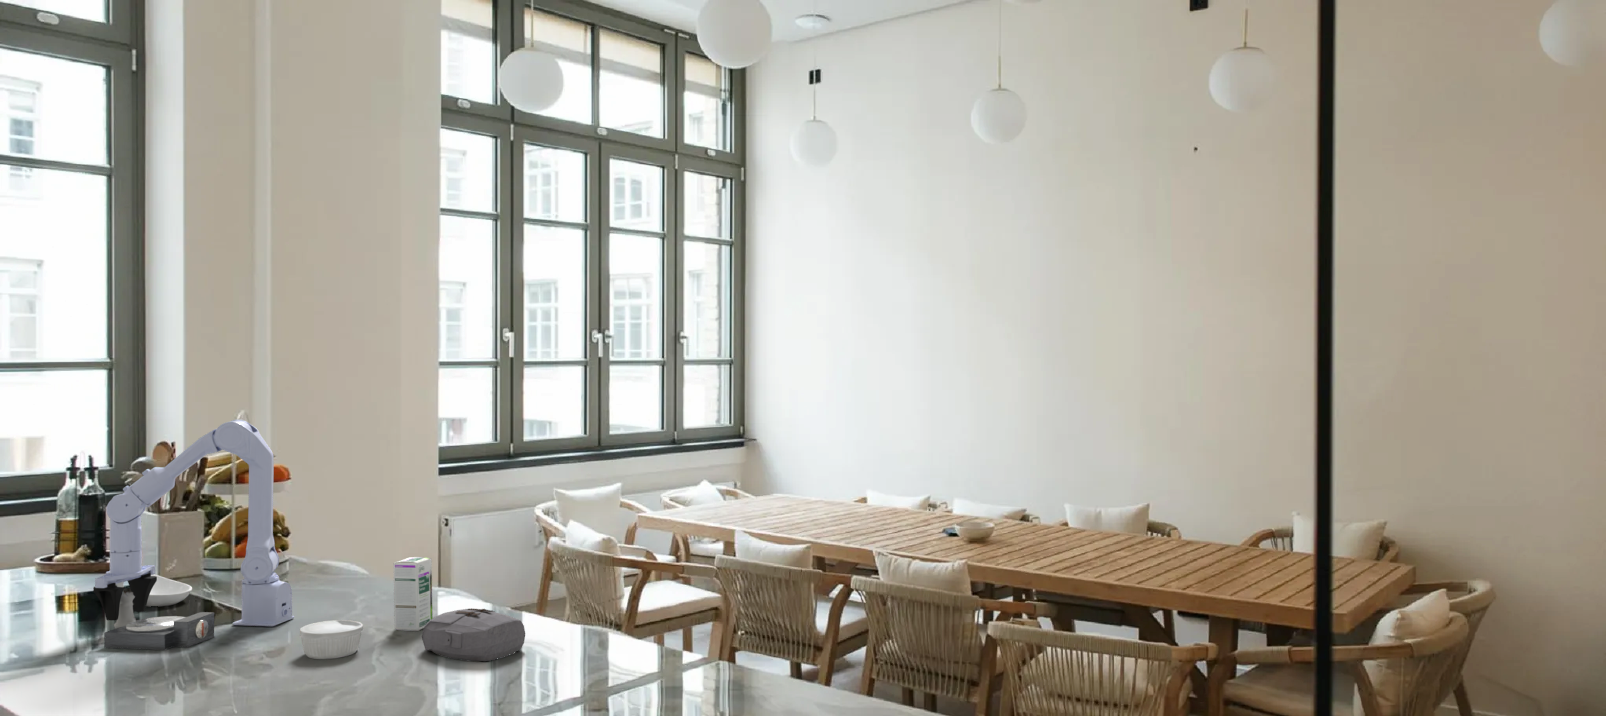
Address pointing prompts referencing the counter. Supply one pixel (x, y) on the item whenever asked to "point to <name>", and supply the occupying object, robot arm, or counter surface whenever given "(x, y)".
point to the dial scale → (162, 632)
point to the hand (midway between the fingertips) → (125, 615)
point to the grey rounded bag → (473, 635)
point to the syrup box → (412, 593)
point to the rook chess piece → (125, 610)
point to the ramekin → (331, 638)
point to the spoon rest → (166, 592)
